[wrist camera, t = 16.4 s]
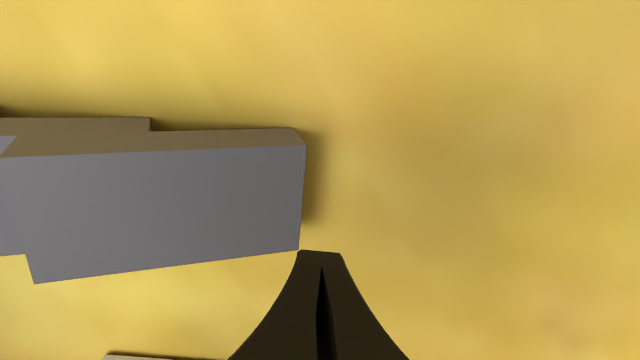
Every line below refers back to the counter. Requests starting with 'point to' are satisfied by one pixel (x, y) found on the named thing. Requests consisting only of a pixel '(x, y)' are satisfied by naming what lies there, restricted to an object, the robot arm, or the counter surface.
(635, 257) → the counter surface
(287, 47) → the counter surface
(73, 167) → the domino
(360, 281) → the counter surface
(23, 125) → the domino
